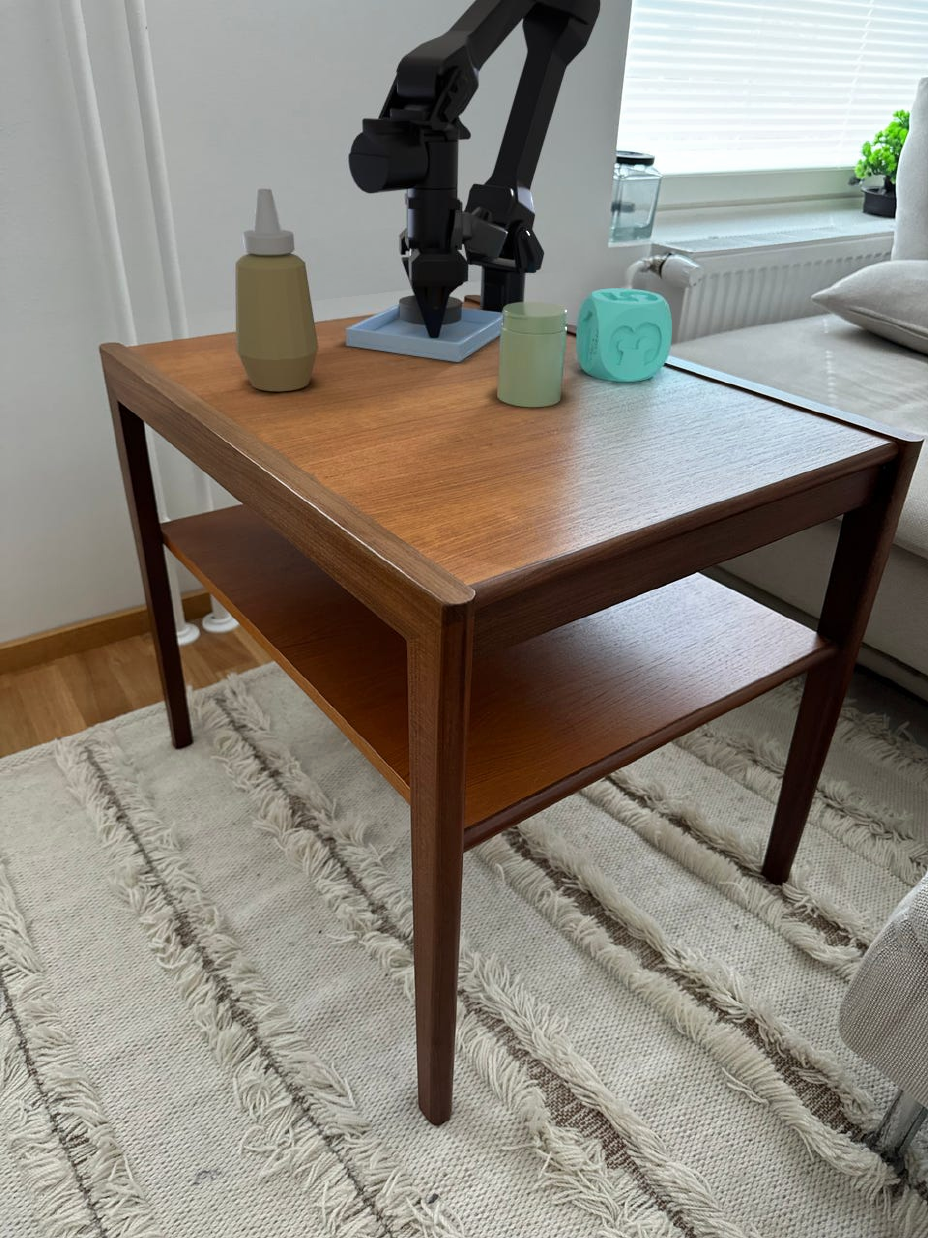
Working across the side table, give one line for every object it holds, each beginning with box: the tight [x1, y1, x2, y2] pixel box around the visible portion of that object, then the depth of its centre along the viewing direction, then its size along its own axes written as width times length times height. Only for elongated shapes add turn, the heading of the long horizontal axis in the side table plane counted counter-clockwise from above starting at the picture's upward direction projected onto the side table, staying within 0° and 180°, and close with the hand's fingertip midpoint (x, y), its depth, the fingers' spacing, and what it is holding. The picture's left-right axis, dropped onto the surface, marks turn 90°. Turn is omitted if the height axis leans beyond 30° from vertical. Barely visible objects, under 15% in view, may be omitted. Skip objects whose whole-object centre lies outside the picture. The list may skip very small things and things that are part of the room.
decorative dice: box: [575, 287, 673, 383], centre depth 96 cm, size 8×8×8 cm
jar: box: [496, 301, 568, 408], centre depth 88 cm, size 6×6×9 cm
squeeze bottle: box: [234, 188, 319, 392], centre depth 86 cm, size 8×8×18 cm
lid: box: [398, 294, 463, 325], centre depth 106 cm, size 8×8×2 cm
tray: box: [345, 303, 503, 363], centre depth 107 cm, size 16×14×2 cm
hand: (430, 329), depth 108 cm, fingers closed on lid, 7 cm apart
